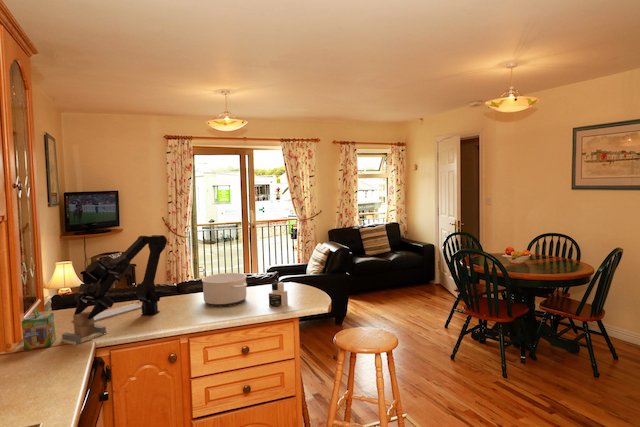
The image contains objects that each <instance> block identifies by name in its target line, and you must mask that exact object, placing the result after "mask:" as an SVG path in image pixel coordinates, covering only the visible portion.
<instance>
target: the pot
mask: <svg viewBox="0 0 640 427" xmlns="http://www.w3.org/2000/svg"><path fill="white" fill-rule="evenodd" d="M247 277H248V276H247V274H245V273H241V272H224V273H215V274H211V275H206V276H204V277H202V279H201V282H202V289H203V290H202V291H203V294H202V295H203V301H204V302H205V304H206V305H207V306H210V307H213V308H227V307H233V306H237V305H239V304H242V303H243V302H244V301H245V300H246V298H247V295H248V294H247V292H248V291H247V286H248V283H247Z"/></svg>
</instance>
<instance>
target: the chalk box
mask: <svg viewBox="0 0 640 427" xmlns="http://www.w3.org/2000/svg"><path fill="white" fill-rule="evenodd" d="M32 313H33V315H27V316H26V317H25V318H24V319H23V320H22V321H21V328H22V329H21V330H22V338H23V347H24V351H27V350H33V349H39V348H44V347H51V346H52V345H53V344H54V342H55V341H56V339H57V337H56V336H57V335H56V324H55V315H54V314H55V313H54V312H47V313H46V312H45V313H40V311H39V310H38V308H37V307H35V308H34V309H33V310H32Z"/></svg>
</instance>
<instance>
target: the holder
mask: <svg viewBox="0 0 640 427" xmlns="http://www.w3.org/2000/svg"><path fill="white" fill-rule="evenodd" d="M94 328H95V333H94V334H91V335H88V336H85V337H82V338H81V336H80V335H76V334H75V333H70V332H65V333H62V334H61V336H62V337H61V339H60V341H61V343H65V344H70V345H78V344H81V343H83V342H87V341H89V340H92V339H95V338H97V336H98V337H100V336H99V335H101V336H103V335H105V334H104V333H106V334H108V331H107V330H106V329H107V328H106V326H104V325H98V324H94ZM102 334H103V335H102ZM94 337H95V338H94Z"/></svg>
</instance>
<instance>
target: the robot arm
mask: <svg viewBox="0 0 640 427" xmlns="http://www.w3.org/2000/svg"><path fill="white" fill-rule="evenodd" d="M167 243H168V239H167V237H166V236H165V235H164V234H163V235H161V234H152V235H151V236H150V235H140V236H138V237H137V239H136V240H135V241H134V242H133V243H132V244H131V245H130V246H129V247H128V248H127V249H126V250H125V251H124V252H123V253H122V254H120V255H119V256H117V257H115V258H113V259H112V260H110V261H109V262H108V263H107V264H104V263H103V262H102V261H101V260H100V259H95V261H93V262H91V263H90V264H89V265H87V266H86V268H85V273H86V274H88V275H89V276H90V277H92V278H93V279H95V280H98V282H97V283H94V282H91V283H90V284H88V283H80V286H79V288H78V292H76V294H75V296H74V298H75V301H76V308H75V310H74V313H73V315H76V314H79V313H83V312H85V310H86V309H87V308H88V307H89V306H90V304H91V303H92V302H94V306H93V308H92V310H91V311H90V312H91V313H90V314H89V316H88V319H89V320H90V319H92V318H93V317H95V316H96V315H98V314H99V313H101V312H104V311H107V310H108V309H109V308H110V309H111V308H112V307H113V306H114V300H113V299H111V298H110V297H109V296H107V295H108V294H110V293H111V289H112V287H113V285H114V284H115V283H116V282H117V283H121V282H122V281H121V278H120V277H121V276H120V275H122V274H124V273H126V271H127V270H128V268H129V267H130V264H131V262H132V260H133V259H134V258H135V257H137V255H138V254H139V253H140V252H141V251H142V250H143V249H144V248H145V247H146V246H148V249H149V254H148V255H149V256H148V258H147V264H146V268H145V271H144V272H145V273H144V276H143V280H142V281H141V283H137V285H136V289H135V296H136V297H137V298H138V302H139V303H140V302H141V305H142V308H141V314H140V316H141V317H142V316H145V317H146V316H150V317H151V316H155V315H157V314H158V313H160V312H161V311H160V310H159V307H158V302H160V300H161V296H160V295H159V294H158V293H156V289H157V288H156V284H155V279H156V275H157V271H158V266H159V262H160V258H161V253H162V252H163V251H164V250H165V248H166V246H167ZM116 274H117V275H116ZM118 274H119V275H118Z"/></svg>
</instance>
